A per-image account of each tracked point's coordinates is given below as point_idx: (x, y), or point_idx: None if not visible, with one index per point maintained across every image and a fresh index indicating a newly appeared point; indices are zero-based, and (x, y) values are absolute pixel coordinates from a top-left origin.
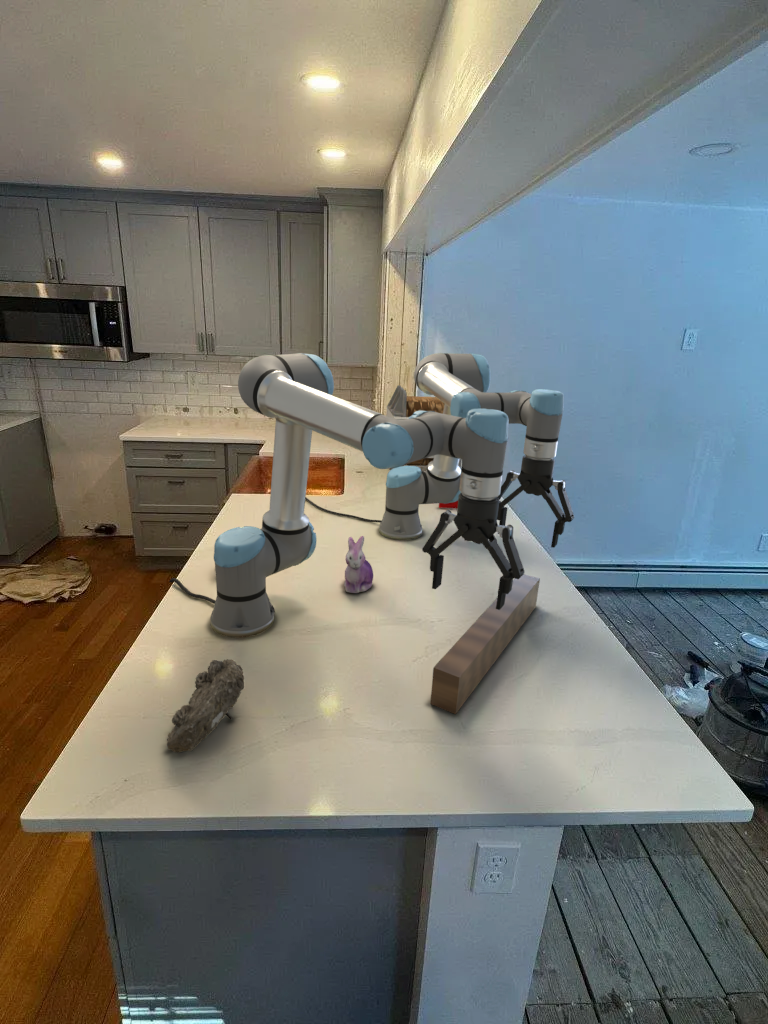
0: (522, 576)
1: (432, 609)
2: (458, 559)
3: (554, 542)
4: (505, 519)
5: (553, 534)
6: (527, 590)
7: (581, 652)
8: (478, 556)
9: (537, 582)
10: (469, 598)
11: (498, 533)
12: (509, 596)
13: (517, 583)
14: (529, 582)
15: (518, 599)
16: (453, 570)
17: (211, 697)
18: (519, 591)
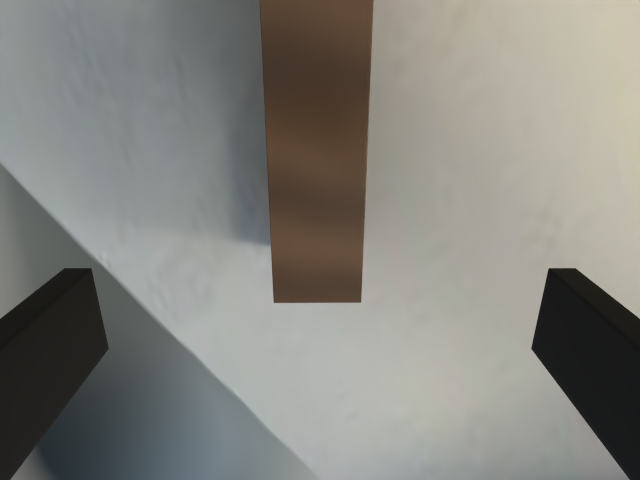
0: (340, 279)
1: (607, 11)
2: None
3: (38, 291)
4: (601, 423)
5: (8, 337)
6: (277, 167)
7: (50, 51)
8: (542, 447)
9: (273, 271)
10: (497, 178)
11: (572, 271)
12: (326, 53)
13: (337, 205)
14: (297, 244)
15: (279, 49)
16: None
17: None
18: (304, 135)
